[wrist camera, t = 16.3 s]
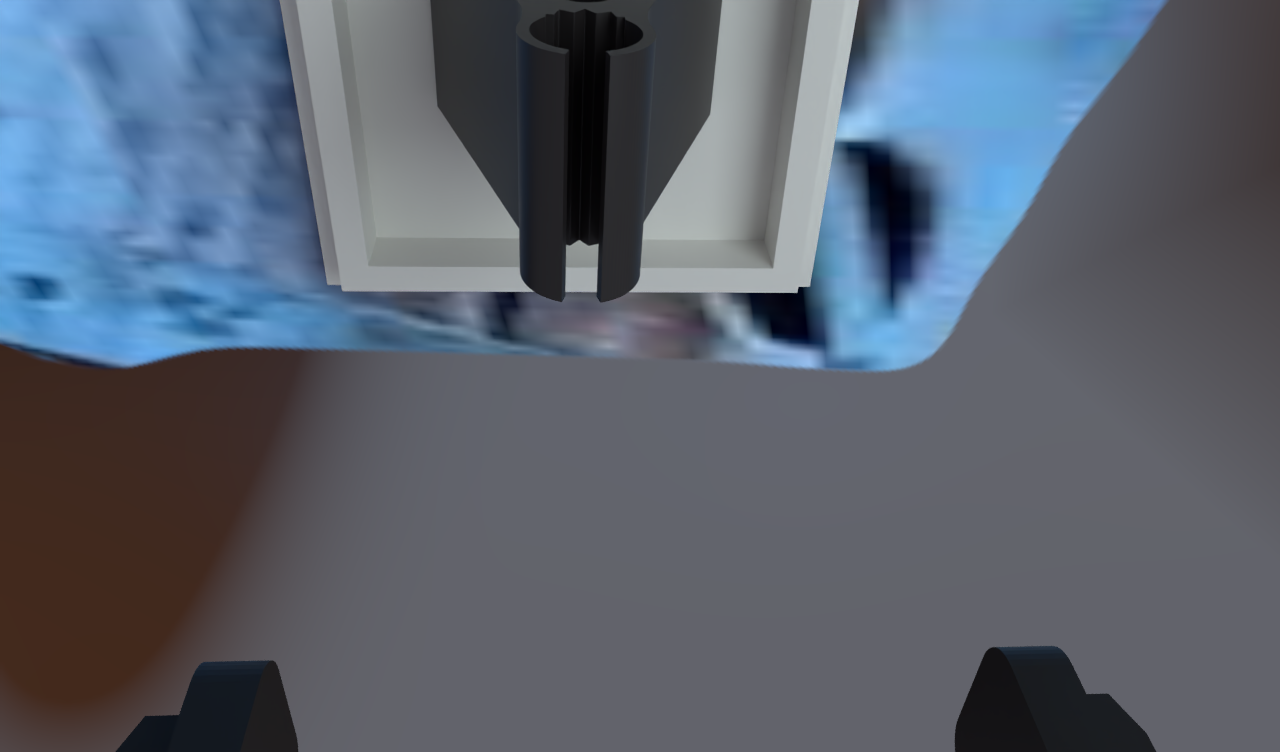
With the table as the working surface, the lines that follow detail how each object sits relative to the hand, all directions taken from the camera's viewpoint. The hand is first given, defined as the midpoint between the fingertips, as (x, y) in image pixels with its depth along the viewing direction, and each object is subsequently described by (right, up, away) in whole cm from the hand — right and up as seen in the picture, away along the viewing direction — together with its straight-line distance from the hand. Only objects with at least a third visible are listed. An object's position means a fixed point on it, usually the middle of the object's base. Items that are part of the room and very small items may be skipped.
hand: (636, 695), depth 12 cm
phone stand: (-2, +15, +20) cm, 25 cm away
